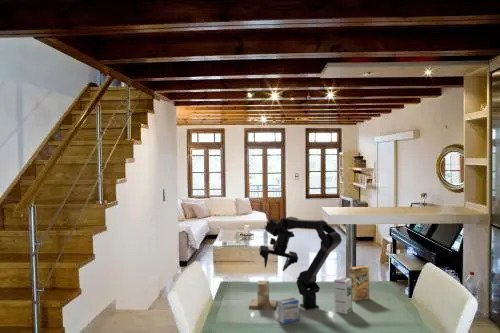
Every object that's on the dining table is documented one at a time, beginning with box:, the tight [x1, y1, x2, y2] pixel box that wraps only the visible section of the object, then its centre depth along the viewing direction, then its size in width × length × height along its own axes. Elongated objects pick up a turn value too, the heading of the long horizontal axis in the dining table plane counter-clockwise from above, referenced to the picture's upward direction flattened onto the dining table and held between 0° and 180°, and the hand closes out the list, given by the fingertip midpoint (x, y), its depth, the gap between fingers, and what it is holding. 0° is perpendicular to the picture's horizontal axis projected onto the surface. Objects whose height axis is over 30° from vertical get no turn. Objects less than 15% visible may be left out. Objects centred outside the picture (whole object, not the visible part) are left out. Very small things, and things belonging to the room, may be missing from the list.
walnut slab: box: [248, 298, 278, 311], centre depth 202 cm, size 12×9×2 cm
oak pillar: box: [256, 280, 270, 305], centre depth 202 cm, size 5×5×10 cm
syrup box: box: [333, 276, 353, 315], centre depth 193 cm, size 6×6×14 cm
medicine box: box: [277, 297, 300, 325], centre depth 184 cm, size 8×4×9 cm, turn 118°
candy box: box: [348, 264, 370, 302], centre depth 210 cm, size 9×4×15 cm, turn 113°
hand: (274, 268), depth 215 cm, fingers open, 9 cm apart
